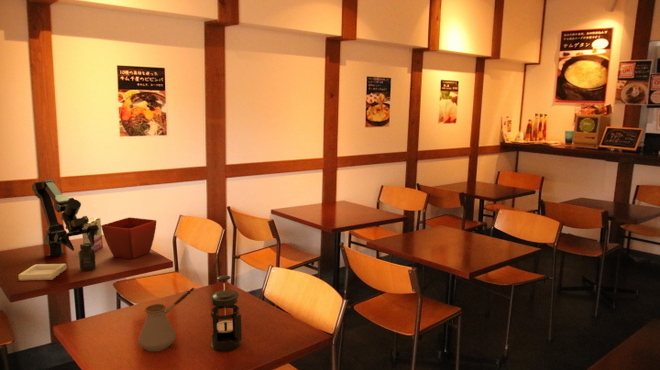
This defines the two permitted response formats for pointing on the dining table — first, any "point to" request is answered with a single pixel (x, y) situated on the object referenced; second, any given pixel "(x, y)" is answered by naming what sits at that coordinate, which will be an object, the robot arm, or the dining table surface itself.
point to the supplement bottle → (87, 257)
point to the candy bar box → (98, 237)
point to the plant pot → (129, 237)
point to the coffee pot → (158, 327)
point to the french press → (226, 327)
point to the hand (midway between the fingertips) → (83, 247)
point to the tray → (42, 272)
